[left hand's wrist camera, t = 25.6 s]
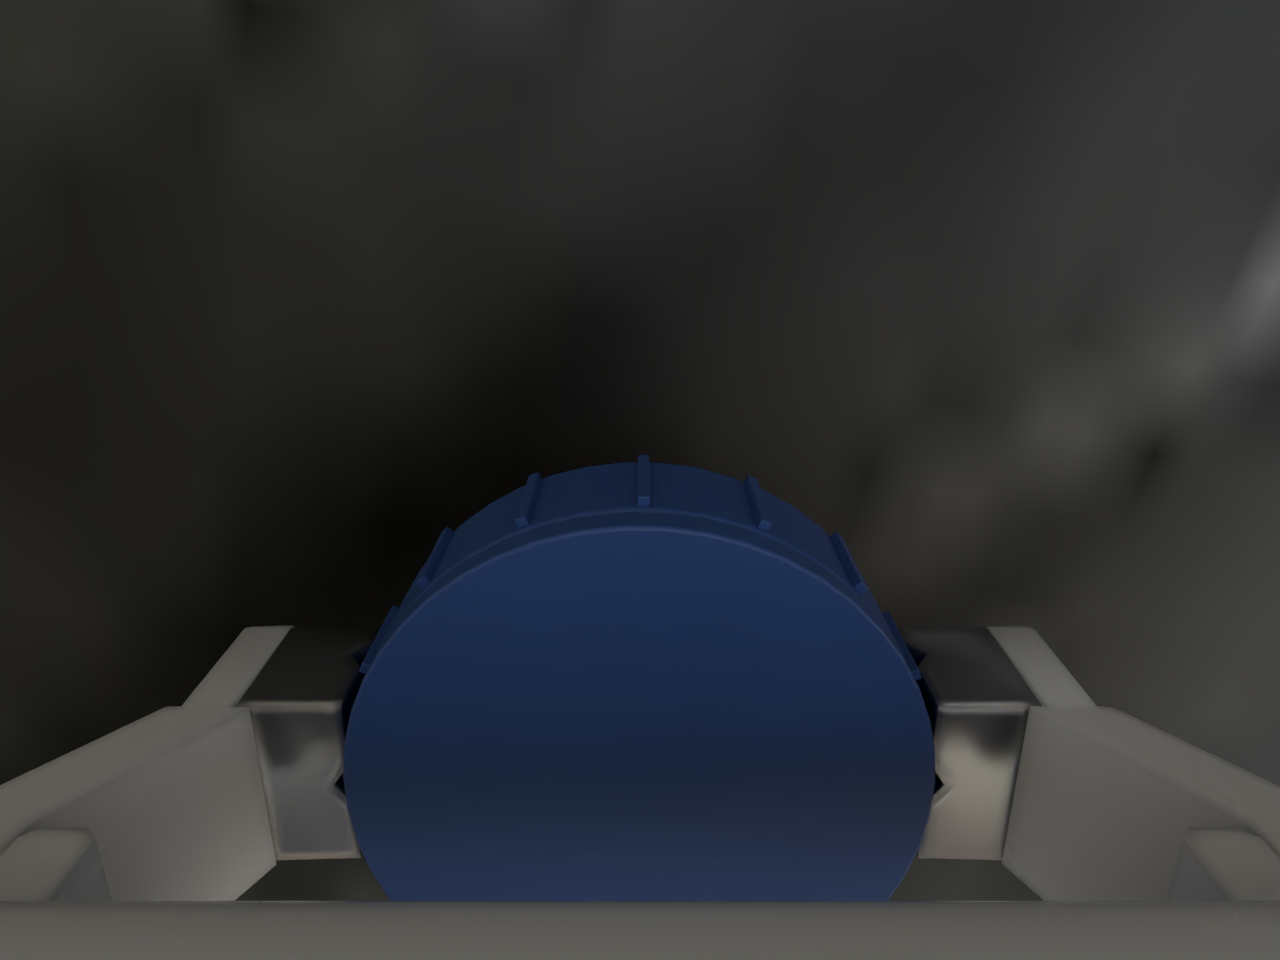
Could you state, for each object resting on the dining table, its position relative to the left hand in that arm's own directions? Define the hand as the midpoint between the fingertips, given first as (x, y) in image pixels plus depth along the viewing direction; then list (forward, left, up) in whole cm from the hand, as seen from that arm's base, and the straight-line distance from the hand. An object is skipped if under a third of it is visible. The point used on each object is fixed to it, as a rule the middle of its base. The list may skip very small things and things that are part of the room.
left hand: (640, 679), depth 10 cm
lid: (0, 0, +2) cm, 2 cm away
